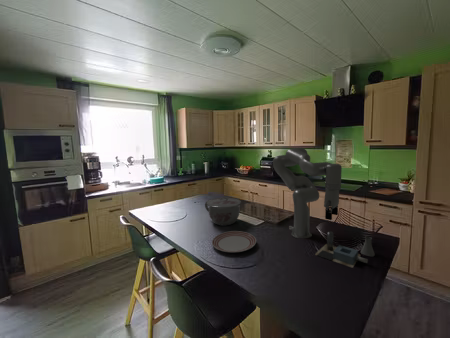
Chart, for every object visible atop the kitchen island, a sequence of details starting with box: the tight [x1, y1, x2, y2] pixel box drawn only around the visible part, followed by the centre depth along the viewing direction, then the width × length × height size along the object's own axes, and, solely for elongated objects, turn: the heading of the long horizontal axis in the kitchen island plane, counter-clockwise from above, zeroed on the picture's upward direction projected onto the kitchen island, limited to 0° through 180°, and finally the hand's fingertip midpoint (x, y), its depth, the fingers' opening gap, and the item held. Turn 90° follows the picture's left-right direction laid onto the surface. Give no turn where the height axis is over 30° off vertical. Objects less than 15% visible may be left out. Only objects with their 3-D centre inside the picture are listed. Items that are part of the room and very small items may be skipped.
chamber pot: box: [204, 196, 242, 226], centre depth 166 cm, size 28×28×21 cm
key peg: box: [326, 230, 334, 251], centre depth 117 cm, size 3×3×10 cm
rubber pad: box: [316, 250, 333, 262], centre depth 112 cm, size 7×7×1 cm
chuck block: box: [333, 244, 369, 265], centre depth 107 cm, size 14×9×4 cm, turn 45°
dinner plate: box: [211, 230, 257, 253], centre depth 130 cm, size 28×27×3 cm
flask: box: [360, 236, 376, 257], centre depth 112 cm, size 7×7×10 cm
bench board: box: [314, 243, 362, 269], centre depth 112 cm, size 18×16×1 cm
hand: (331, 216), depth 116 cm, fingers open, 9 cm apart
